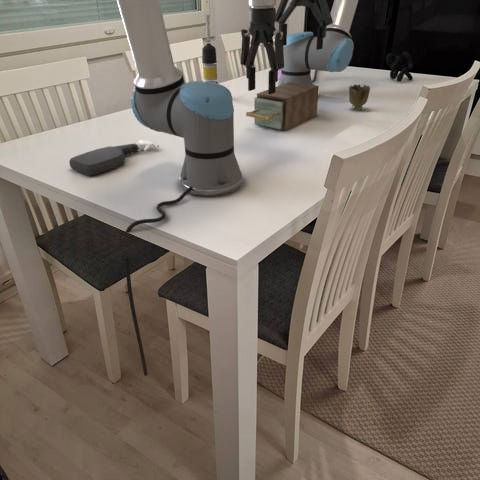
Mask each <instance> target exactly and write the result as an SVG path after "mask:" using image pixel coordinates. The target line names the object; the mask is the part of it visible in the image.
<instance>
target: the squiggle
mask: <svg viewBox="0 0 480 480" xmlns="http://www.w3.org/2000/svg"><path fill="white" fill-rule="evenodd" d="M401 57H402V59H401ZM391 59H392V60H391ZM393 60H394V61H393ZM385 61H386V64H387V67H390V68H391V70H390V72H389V78H390V79H391V80H395V79H396V81H397V82H399V83H400V82H402V81H403V79H404V76H406V78H407V80H408V81H412V80H413V79H414V77H413V75H412V74H411V73H410V72H409V71H410V70H412V69H413V68H414V64H413V61H412V57H411V54H410V53H409V52H408V51H403V53H402V54H401V55H396V54H394V53H392V52H390V53H387V55H386V57H385ZM406 62H407V65H408V66H407V67H405V66H404V65H405V64H406ZM400 70H401V71H400Z"/></svg>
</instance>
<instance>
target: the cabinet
mask: <svg viewBox="0 0 480 480" xmlns="http://www.w3.org/2000/svg"><path fill="white" fill-rule="evenodd" d="M319 87H320V85H317V84H313V85H310V84H304V83H297V82H288V83H285V84H283V85H280V86H278V85H276V89H275V93H273V94H268V89H266V90H262V91H260V92H258V93H256V98H262V97H264V98H269V99H275V100H281V101H284V115H283V126H282V129H278V130H279V131H283V132H286V131H288V130H290V129H292V128H294V127H296V126H298V125H300V124H303V123H305V122H306V121H309V120H310V119H312V118H314V117H317V115H318V104H319V102H318V101H319V89H320V88H319ZM259 127H263V126H262V125H259ZM264 127H265V128H267V127H266V126H264ZM269 128H271V127H269ZM271 129H272V128H271ZM273 129H275V130H277V129H276V128H273Z"/></svg>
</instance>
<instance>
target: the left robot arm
mask: <svg viewBox="0 0 480 480" xmlns="http://www.w3.org/2000/svg"><path fill="white" fill-rule="evenodd" d="M116 2H117V6H118V8H119V12H120V16H121V19H122V22H123V23H122V24H123V26H124V30H125V33H126V36H127V41H128V43H129V47H130V50H131V55H132V59H133V62H134V65H135V68H136V71H137V76H136V77H135V78H134V81H133V84H134V88H133V90H132V96H131V98H130V104H131V110H132V113H133V115H134V117H135V118H136V120H137V121H138V123H140V124H141V125H142V126H143V127H146V128H148V129H149V130H152V131H155V132H158V133H164V134H168V135H170V136H171V135H172V136H175V137H179V138H183V143H184V154H185V155H184V158H183V164H182V168H181V171H180V176H179V183H180V184H179V185H180V188H181V189H182V191H184V192H183V193H181V195H180V196H179V197H177V198H176V199H173V200H166V201H160V202H158V204H157V205H156V206H155V208H156V211H157V212H158V213H159V214H160V216H159V217H155V218H143V219H138V220H136V221H133V222H132V223H131V224H129V225H128V226H127V228H126V230H125V233H126V234H128V233H130V232H131V231H132V230H133V229H134V228H135V227H136V226H139V225H142V224H154V223H159V222H162V221H164V220H165V219H166V216H167V215H166V212H165V211H164V210H163V209H162V208H161V207H163V206H169V205H170V206H171V205H175V204H178V203H179V202H181V201H182V200H183V199H184V198H185V197H186V196H187V195H188V194H190V195H194V196H199V197H221V196H224V195H229V194H232V193H234V192H235V191H237V190H239V189H240V188H241V187H242V185H243V174H242V171H241V168H240V165H239V163H238V160H237V157H236V154H235V126H234V123H235V121H234V118H235V117H234V114H235V113H234V112H235V108H234V102H233V96H232V93H231V91H230V89H229V88H227V86H224V85H223V84H220V83H215V82H207V81H204V80H193V81H192V80H191V81H188V82H186V81H185V77H184V73H183V70H181V69H180V68H178V67H177V66H175V62H174V58H173V54H172V50H171V45H170V40H169V37H168V31H167V28H166V23H165V21H164V15H163V11H162V7H161V2H160V0H116ZM276 5H277V0H248V6H249V7H250V8H249V9H248V22H249V27H248V28H243V29H241V30H240V34H241V35H240V36H241V49H240V51H241V52H240V65H241V66H244V67H245V71H246V73H245V74H246V75H245V77H246V79H247V91H248V92H251V91H255V90H256V66H255V61H256V58H257V55H258V50H259V47H260V45H261V44H262V45H263V47H264V48H265V52H266V55H267V56H266V57H267V60H268V64H269V66H270V69H269V71H268V81H267V83H268V85H267V86H268V87H267V88H268V89H267V90H268V94H273V93H275V89H276V87H277V85H276V84H277V82H279V69H282V68H284V52H283V38H284V32H283V31H282V32H279V30H277V29H276V26H275V25H276V12H277V9H276V8H275V6H276ZM124 262H125V263H124V264H125V265H124V267H125V278H126V279H125V280H126V286H127V294H128V300H129V306H130V311H131V316H132V322H133V326H134V331H135V336H136V340H137V345H138V349H139V354H140V360H141V364H142V371H143V376H145V377H146V376H148V367H147V362H146V358H145V352H144V346H143V342H142V337H141V334H140V333H141V332H140V327H139V323H138V319H137V314H136V313H137V312H136V308H135V301H134V295H133V288H132V281H131V268H130V267H131V265H130V258H125V259H124Z"/></svg>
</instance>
